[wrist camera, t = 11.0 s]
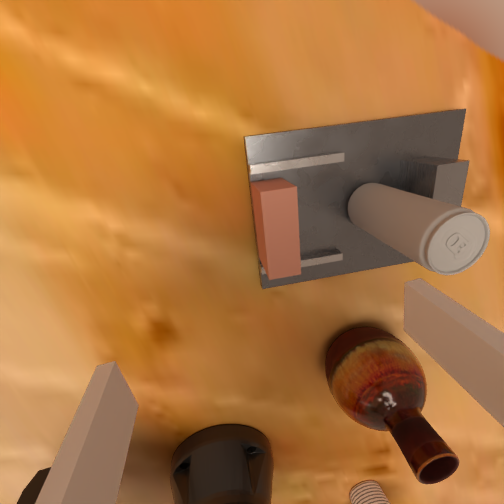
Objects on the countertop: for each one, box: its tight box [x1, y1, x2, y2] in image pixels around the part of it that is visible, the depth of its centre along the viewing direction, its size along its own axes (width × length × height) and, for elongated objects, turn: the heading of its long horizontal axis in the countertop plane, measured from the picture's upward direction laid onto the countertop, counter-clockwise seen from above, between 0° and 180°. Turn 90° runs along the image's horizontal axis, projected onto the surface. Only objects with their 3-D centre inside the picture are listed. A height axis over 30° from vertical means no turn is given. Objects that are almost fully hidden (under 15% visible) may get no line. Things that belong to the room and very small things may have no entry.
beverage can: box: [348, 183, 490, 275], centre depth 25 cm, size 5×5×12 cm
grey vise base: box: [244, 109, 469, 289], centre depth 28 cm, size 22×16×6 cm
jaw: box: [251, 178, 301, 280], centre depth 27 cm, size 3×8×5 cm, turn 6°
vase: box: [325, 327, 459, 484], centre depth 33 cm, size 11×11×15 cm
